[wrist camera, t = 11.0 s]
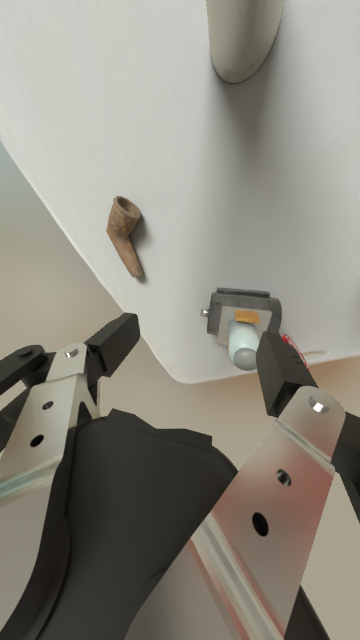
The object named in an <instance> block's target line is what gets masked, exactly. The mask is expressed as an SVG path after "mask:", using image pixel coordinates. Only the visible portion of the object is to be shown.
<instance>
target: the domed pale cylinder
mask: <svg viewBox="0 0 360 640" xmlns="http://www.w3.org/2000/svg"><path fill="white" fill-rule="evenodd" d="M228 332H229V359H230V361H231V362H232V363H233V364H234V365H235V366H237V367H238V368H239V369H241V370H246V371H249V370H253V369H255V368H257V365H256V352H257V349H258V345H259V342H260V341H259V338H258V335H257V331H256V328H255V325H254V324H253V323H251V322H243V321H234V322H232V323H231V324H230V326H229V330H228Z"/></svg>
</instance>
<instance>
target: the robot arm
mask: <svg viewBox="0 0 360 640" xmlns="http://www.w3.org/2000/svg"><path fill="white" fill-rule="evenodd" d="M284 4H285V0H206V7H207V19H208V30H209V41H210V52H211V58H212V62H213V65H214V68H215V70H216V72H217V73H218V75H219V76H220V77H221V78H222V79H223V80H225V81H227V82H230V83H238V82H241V81H244V80H246V79H247V78H249V77H250V76H252V75H253V74H254V73H255V72H256V71H257V70H258V69H259V67H260V66H261V65H262V63H263V62H264V61H265V59H266V57H267V55H268V54H269V52H270V50H271V47H272V45H273V43H274V40H275V37H276V34H277V31H278V27H279V23H280V20H281V16H282V12H283V8H284ZM139 338H140V329H139V322H138V316H137V315H136V314H133V313H124V314H122V315H121V316H120V317H119V318H118V319H115V320H113V321H111V322H109V323H108V324H107V325H105V327H103V328H102V329H100V331H98V332H97V333H95V334H94V335H93V336H92V337H91V338H89V339H88V340H87V341H86V342H84V343H73V344H70V345H67V346H65V347H63V348H61V349H60V350H59V351H58V352H52V353H46V352H45V350H44V349H43V347H42V346H41V345H31V346H27V347H24V348H21V349H19V350H17V351H15V352H13V353H12V354H10V355H9V356H7V357H5V358H4V359H2V360H0V395H2V394H3V393H4V392H6V391H7V390H8V389H9V388H11V387H12V386H13V385H14V384H16V383H17V382H18V381H19V380H22V382H23V383H24V384H25V386H26V387H27V389H26V390H24V391H23V392H22V393H21V394H20V395H19V396H17V397H16V398H15V399H14V400H13V401H12V402H10V403H9V404H8V405H7V406H6V407H5V408H3V409H2V410H1V411H0V452H1V451H2V450H3V449H4V448H5V447H6V448H5V450H4V452H3V455H2V457H1V459H0V640H330V638H329V637H328V634H327V633H326V631H325V629H324V627H323V625H322V623H321V621H320V620H319V618H318V616H317V614H316V612H315V611H314V609H313V607H312V605H311V603H310V601H309V599H308V598H307V596H306V594H305V592H304V590H303V588H302V586H301V585H300V583H301V580H302V576H303V574H304V570H305V567H306V564H307V561H308V557H309V554H310V551H311V548H312V545H313V541H314V538H315V535H316V531H317V529H318V525H319V522H320V519H321V516H322V512H323V509H324V506H325V503H326V500H327V496H328V493H329V490H330V487H331V483H332V480H333V477H334V473H335V471H336V472H337V473H339V474H340V476H341V479H342V481H343V484H344V486H345V489H346V491H347V493H348V496H349V498H350V501H351V503H352V506H353V508H354V511H355V513H356V516H357V518H358V520H359V523H360V418H359V417H357V416H355V415H352V414H350V413H348V412H346V411H344V408H343V407H342V405H341V404H340V403H339V402H338V401H337V400H336V399H335V398H334V397H333V396H331V395H330V394H328V393H327V392H325V391H323V390H321V389H319V388H318V386H317V385H316V383H315V381H314V379H313V378H312V376H311V374H310V372H309V371H308V369H307V367H306V365H304V362H303V360H302V359H301V357H300V355H299V353H298V351H297V350H296V349H295V348H294V347H293V346H292V345H290V344H289V343H285V342H284V341H283V339H282V337H281V335H280V333H277V332H269V331H264V332H263V333H262V336H261V339H260V342H259V345H258V349H257V352H256V365H257V369H258V374H259V378H260V383H261V387H262V392H263V397H264V401H265V406H266V411H267V415H269V416H273V417H277V420H275V421H274V422H273V424H272V425H271V427H270V428H269V429H268V431H267V432H266V434H265V435H264V437H263V438H262V439H261V441H260V442H259V444H258V445H257V446H256V448H255V449H254V451H253V452H252V453H251V455H250V456H249V458H248V459H247V461H246V462H245V463H244V465H243V466H242V468H241V469H240V470H239V472H238V470H237V469H236V467H235V466H234V465H233V464H232V462H231V461H230V460H229V459H228V458H227V457H226V456H225V455H224V454H223V453H222V452H220V451H219V450H218V449H217V448H215V447H214V446H212V436H209V435H206V434H202V433H198V432H195V431H191V430H187V429H156V428H154V427H152V426H151V425H149V424H148V423H146V422H145V421H143V420H142V419H140V418H139V417H137V416H136V415H134V414H131V413H127V412H123V411H120V410H117V409H113V408H112V410H111V412H110V413H109V415H108V416H105V417H100V381H99V378H100V377H101V376H105V377H111V375H112V374H113V373H114V371H115V370H116V369H117V368H118V366H119V365H120V364H121V362H122V361H123V360H124V359H125V357H126V356H127V355H128V354H129V352H130V351H131V350H132V349H133V347H134V346H135V345H136V343H137V342H138V341H139Z"/></svg>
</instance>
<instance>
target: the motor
mask: <svg viewBox="0 0 360 640" xmlns="http://www.w3.org/2000/svg"><path fill="white" fill-rule="evenodd" d="M269 296H270V293H269V292H265V291H253V290H241V289H229V288H217V293H212V296H211V302H210V309H205V308H202V311H201V316H204V317H208V325H207V333H208V334H215V335H218V337H217V344H219V345H225V346H228V352H229V332H228V330H229V326H230V324H231V323H232V322H234V321H243V322H251V323H253V324H254V325H255V328H256V331H257V335H258V338H259V341H260V339H261V336H262V333H263V332H264V331H269V332H277V333H278V331H279V328H280V324H281V316H282V309H281V303H280V301H279V300H278V299H276V298H269Z"/></svg>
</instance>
